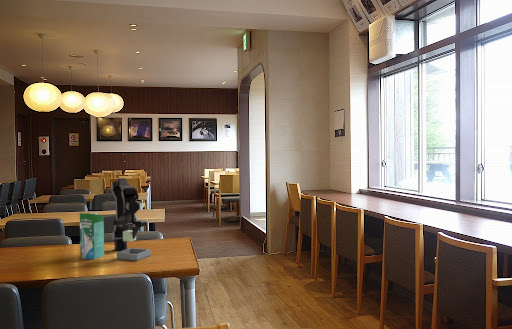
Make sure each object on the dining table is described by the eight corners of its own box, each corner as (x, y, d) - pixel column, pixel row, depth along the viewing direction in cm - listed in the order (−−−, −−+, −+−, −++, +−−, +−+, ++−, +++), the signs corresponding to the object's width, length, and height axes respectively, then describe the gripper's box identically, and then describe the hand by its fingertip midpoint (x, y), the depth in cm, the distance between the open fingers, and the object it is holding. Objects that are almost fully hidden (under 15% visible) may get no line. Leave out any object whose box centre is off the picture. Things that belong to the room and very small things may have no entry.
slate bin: (116, 259, 253) (116, 252, 253) (130, 253, 265) (130, 247, 265) (137, 261, 248) (137, 254, 248) (150, 255, 261) (150, 249, 260)
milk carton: (104, 255, 261) (103, 211, 260) (93, 259, 252) (93, 213, 251) (91, 254, 264) (90, 210, 263) (80, 258, 255) (79, 212, 254)
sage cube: (123, 240, 254) (122, 231, 253) (128, 239, 258) (128, 230, 258) (130, 241, 252) (130, 232, 252) (136, 239, 256) (136, 230, 256)
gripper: (105, 211, 250) (106, 239, 251) (134, 213, 243) (135, 242, 244) (118, 208, 261) (119, 236, 261) (147, 210, 254) (147, 238, 254)
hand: (129, 238), depth 255 cm, fingers closed on sage cube, 5 cm apart
